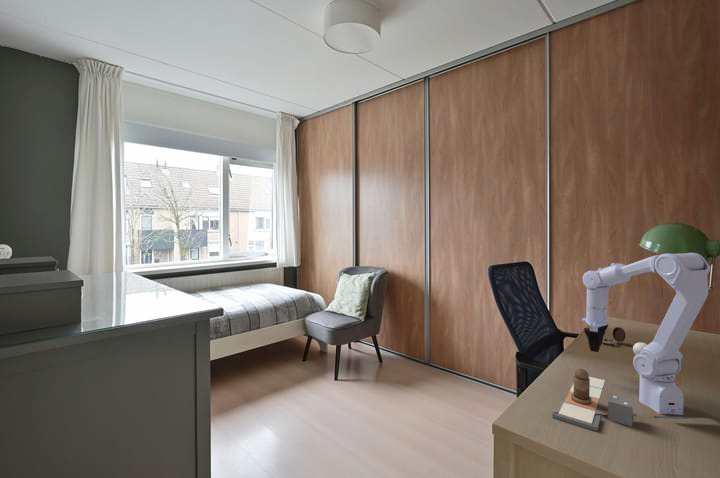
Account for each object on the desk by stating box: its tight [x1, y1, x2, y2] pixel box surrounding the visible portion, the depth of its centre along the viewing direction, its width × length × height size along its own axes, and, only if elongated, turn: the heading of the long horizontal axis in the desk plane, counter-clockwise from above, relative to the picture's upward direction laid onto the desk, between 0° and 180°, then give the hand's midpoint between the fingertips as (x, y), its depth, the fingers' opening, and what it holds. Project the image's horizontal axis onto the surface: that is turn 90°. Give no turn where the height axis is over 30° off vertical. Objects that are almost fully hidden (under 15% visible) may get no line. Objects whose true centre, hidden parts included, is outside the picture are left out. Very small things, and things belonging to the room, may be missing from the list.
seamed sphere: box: [628, 342, 648, 355], centre depth 136 cm, size 8×6×6 cm
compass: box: [602, 326, 626, 347], centre depth 149 cm, size 8×8×7 cm
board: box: [551, 376, 606, 432], centre depth 103 cm, size 33×10×1 cm, turn 140°
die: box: [607, 394, 634, 428], centre depth 92 cm, size 5×5×5 cm
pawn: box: [572, 368, 592, 405], centre depth 100 cm, size 5×5×9 cm
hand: (595, 348), depth 116 cm, fingers open, 7 cm apart
